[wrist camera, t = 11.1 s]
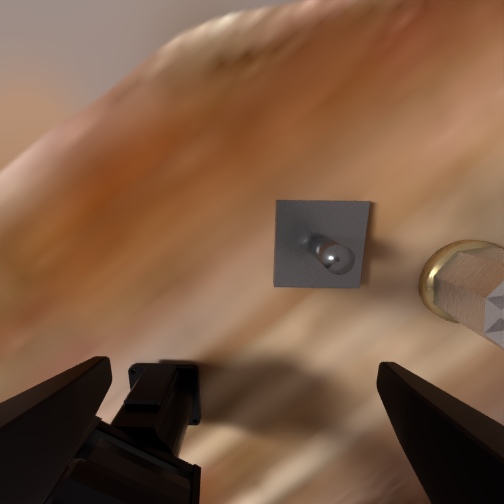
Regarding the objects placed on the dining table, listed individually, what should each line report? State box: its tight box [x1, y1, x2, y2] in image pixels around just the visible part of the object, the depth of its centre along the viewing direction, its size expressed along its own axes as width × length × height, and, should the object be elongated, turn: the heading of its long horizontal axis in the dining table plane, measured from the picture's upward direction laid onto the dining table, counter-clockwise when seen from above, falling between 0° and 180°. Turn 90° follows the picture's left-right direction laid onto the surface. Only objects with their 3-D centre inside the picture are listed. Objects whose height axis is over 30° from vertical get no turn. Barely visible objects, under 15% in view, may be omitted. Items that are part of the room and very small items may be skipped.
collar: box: [433, 246, 504, 350], centre depth 17 cm, size 6×6×4 cm
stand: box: [273, 200, 370, 288], centre depth 17 cm, size 7×7×6 cm
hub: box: [419, 240, 502, 323], centre depth 18 cm, size 7×7×5 cm
